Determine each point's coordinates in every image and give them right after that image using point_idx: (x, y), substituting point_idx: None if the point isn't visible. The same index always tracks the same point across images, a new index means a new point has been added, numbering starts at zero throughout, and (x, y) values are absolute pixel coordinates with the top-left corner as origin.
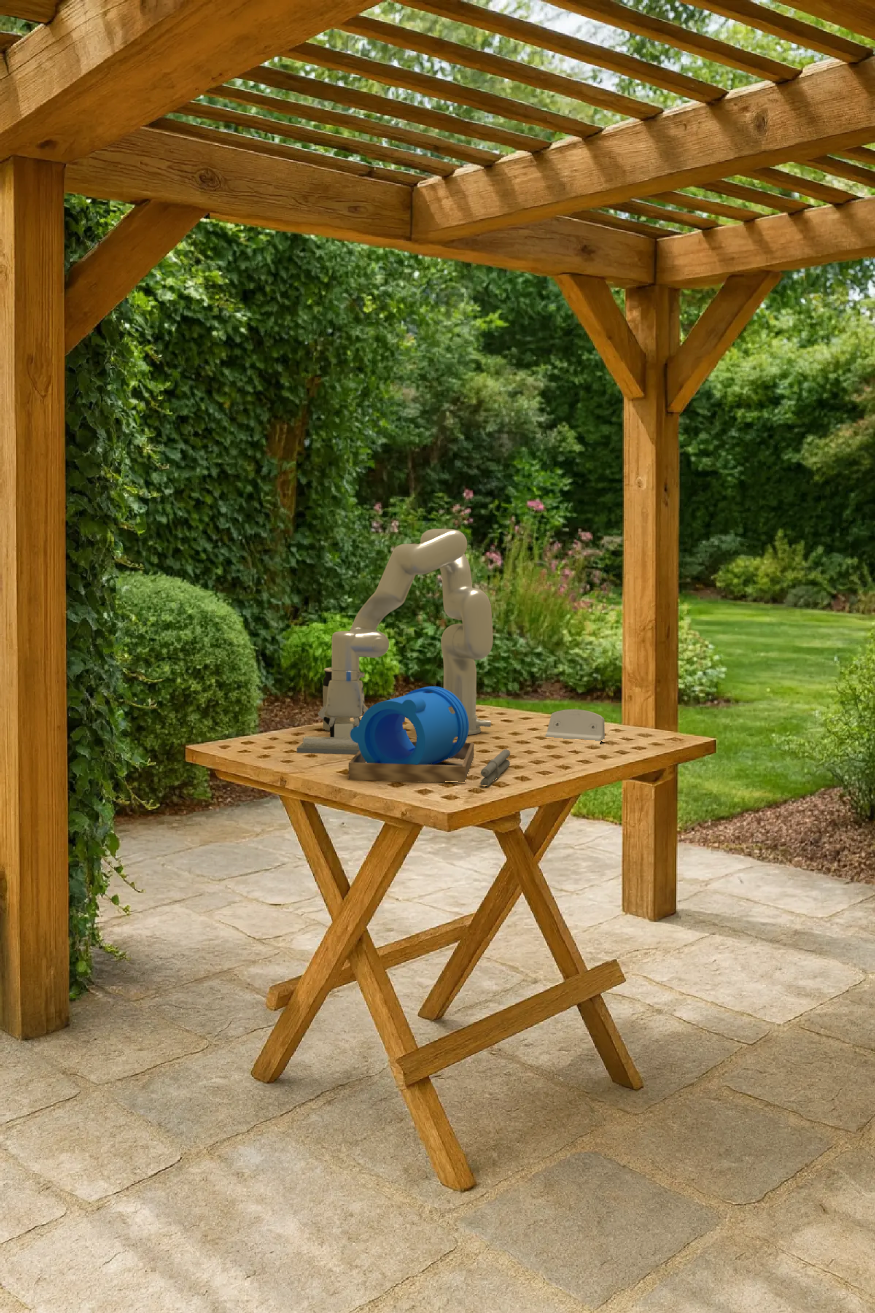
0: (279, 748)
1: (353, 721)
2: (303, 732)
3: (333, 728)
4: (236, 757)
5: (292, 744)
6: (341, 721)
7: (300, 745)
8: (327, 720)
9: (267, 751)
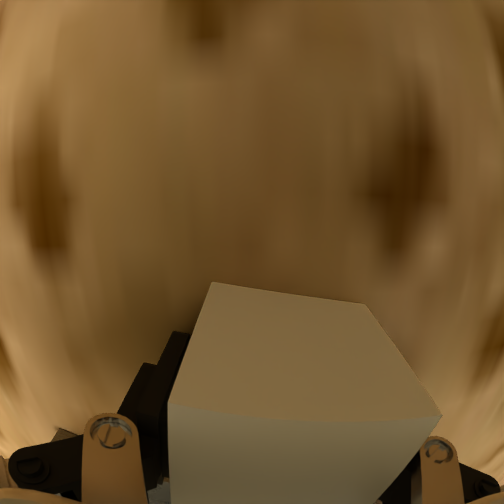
0: (12, 438)
1: (413, 421)
2: (3, 7)
3: (162, 477)
4: None
5: (5, 385)
6: (227, 440)
7: None
8: (75, 499)
9: None
